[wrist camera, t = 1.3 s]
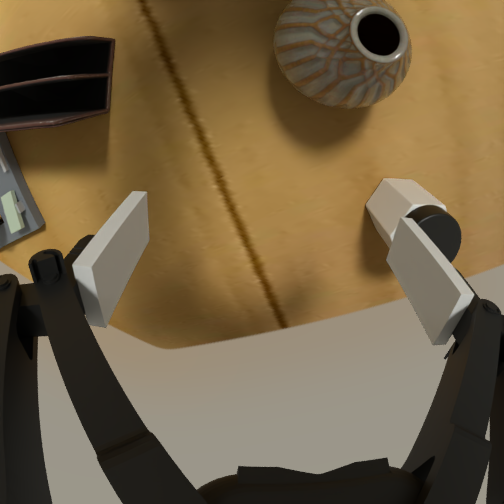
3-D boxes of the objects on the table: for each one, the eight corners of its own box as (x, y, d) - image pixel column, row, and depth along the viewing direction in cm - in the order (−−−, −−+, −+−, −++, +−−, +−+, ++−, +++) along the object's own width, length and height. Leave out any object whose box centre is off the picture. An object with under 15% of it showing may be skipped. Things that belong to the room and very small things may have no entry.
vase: (279, 108, 35) (300, 130, 20) (260, 7, 29) (268, -46, 14) (382, 99, 34) (462, 122, 19) (368, 2, 28) (441, -34, 12)
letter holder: (111, 112, 35) (51, 134, 23) (2, 120, 34) (-62, 146, 22) (117, 38, 30) (56, 27, 18) (4, 57, 29) (-63, 67, 17)
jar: (361, 231, 44) (391, 280, 33) (368, 175, 39) (405, 213, 29) (415, 230, 43) (454, 276, 33) (425, 178, 39) (471, 214, 29)
